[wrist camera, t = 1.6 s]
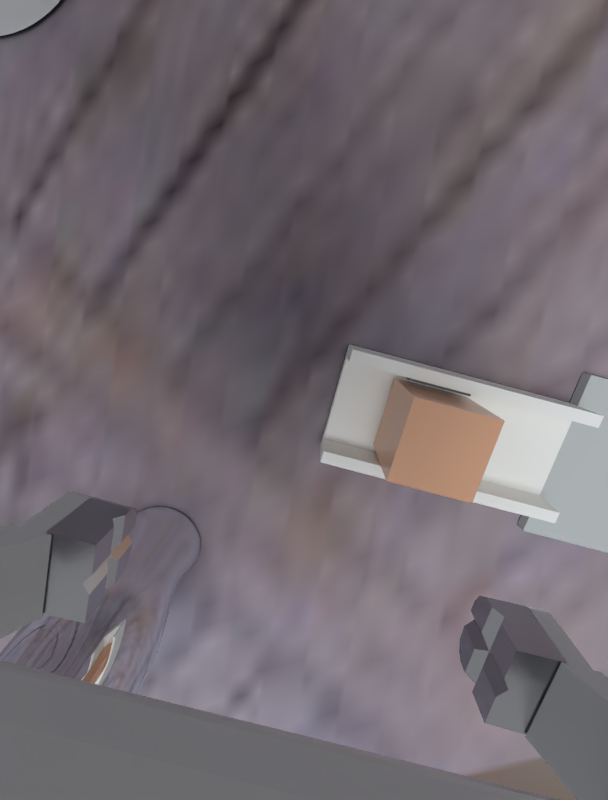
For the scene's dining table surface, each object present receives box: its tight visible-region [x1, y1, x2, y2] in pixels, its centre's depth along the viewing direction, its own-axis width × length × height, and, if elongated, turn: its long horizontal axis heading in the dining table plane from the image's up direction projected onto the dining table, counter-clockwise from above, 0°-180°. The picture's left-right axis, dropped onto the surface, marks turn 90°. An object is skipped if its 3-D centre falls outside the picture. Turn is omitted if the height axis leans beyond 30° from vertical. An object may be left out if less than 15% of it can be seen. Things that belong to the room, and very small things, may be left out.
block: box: [373, 378, 505, 503], centre depth 25 cm, size 5×5×6 cm
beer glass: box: [0, 507, 200, 694], centre depth 25 cm, size 7×7×15 cm
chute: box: [320, 344, 604, 523], centre depth 27 cm, size 8×16×4 cm, turn 75°
